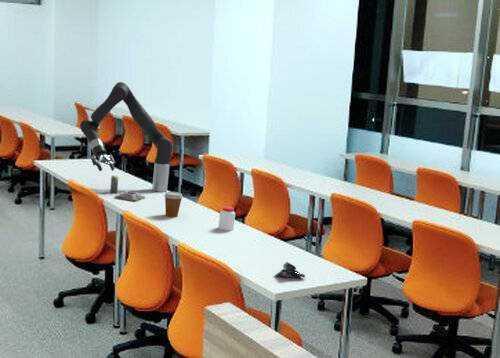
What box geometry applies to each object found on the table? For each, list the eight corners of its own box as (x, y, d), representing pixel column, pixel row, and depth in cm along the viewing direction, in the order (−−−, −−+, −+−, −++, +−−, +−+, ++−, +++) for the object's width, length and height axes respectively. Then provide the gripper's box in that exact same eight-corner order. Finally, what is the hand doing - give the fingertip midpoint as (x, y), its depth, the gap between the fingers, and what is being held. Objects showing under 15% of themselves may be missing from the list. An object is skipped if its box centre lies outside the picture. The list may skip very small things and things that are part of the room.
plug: (112, 191, 384) (113, 175, 383) (118, 192, 383) (119, 176, 382) (109, 192, 380) (110, 176, 379) (115, 193, 379) (116, 177, 378)
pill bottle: (222, 230, 321) (224, 209, 320) (215, 226, 328) (218, 205, 326) (236, 230, 325) (238, 209, 323) (229, 226, 332) (231, 205, 330)
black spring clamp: (273, 271, 266) (273, 278, 254) (278, 256, 265) (278, 263, 253) (301, 279, 266) (302, 287, 254) (306, 265, 265) (307, 272, 253)
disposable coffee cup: (159, 215, 338) (161, 192, 336) (168, 212, 347) (170, 190, 345) (175, 218, 335) (177, 196, 333) (183, 215, 344) (186, 193, 342)
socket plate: (123, 194, 379) (124, 189, 379) (144, 198, 377) (145, 193, 376) (114, 198, 367) (114, 193, 366) (135, 201, 364) (136, 196, 364)
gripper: (90, 144, 384) (99, 166, 378) (110, 144, 394) (120, 166, 389) (84, 151, 388) (94, 174, 382) (105, 151, 399) (114, 173, 393)
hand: (107, 170), depth 386 cm, fingers open, 8 cm apart
